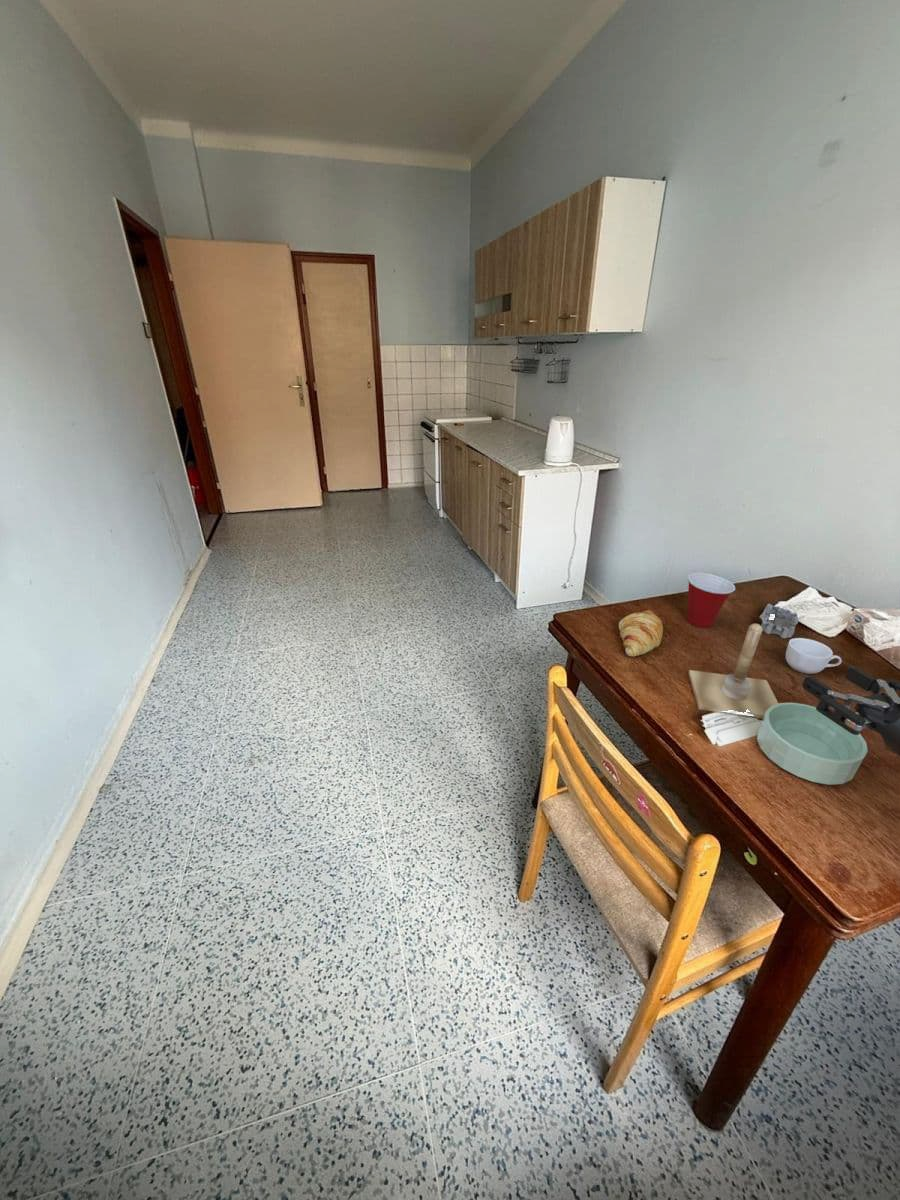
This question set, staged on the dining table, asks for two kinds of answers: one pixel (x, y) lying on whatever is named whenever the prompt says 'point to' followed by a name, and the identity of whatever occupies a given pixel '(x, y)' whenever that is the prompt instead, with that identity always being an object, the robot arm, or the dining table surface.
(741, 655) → the dish brush
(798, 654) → the teacup
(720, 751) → the dining table surface
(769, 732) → the bowl
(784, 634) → the egg carton
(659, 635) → the croissant
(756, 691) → the flat beige board
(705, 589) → the plastic cup
